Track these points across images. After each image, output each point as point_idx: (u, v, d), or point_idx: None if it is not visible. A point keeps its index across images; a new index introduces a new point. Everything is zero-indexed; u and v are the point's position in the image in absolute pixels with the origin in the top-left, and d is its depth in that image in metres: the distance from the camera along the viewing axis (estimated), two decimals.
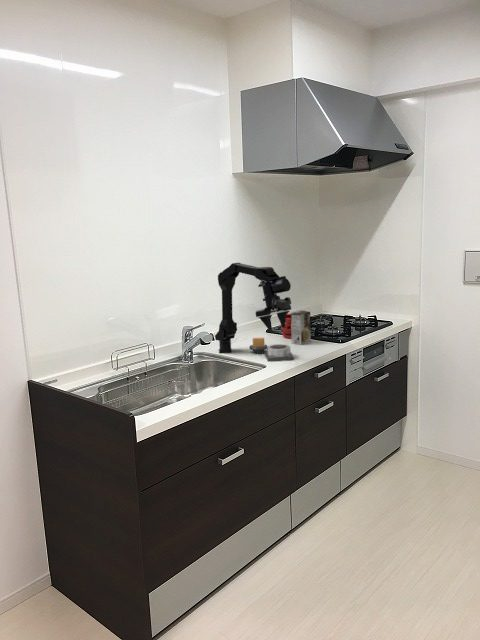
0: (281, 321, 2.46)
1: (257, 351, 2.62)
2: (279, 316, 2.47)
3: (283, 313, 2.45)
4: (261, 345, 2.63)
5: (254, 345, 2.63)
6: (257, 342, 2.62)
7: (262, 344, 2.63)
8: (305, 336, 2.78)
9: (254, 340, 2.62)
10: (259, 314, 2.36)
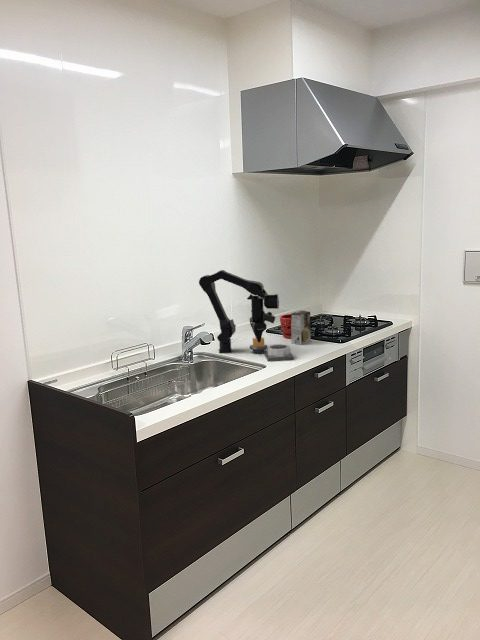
0: None
1: (257, 351, 2.62)
2: None
3: None
4: (261, 345, 2.63)
5: (254, 345, 2.63)
6: (257, 342, 2.62)
7: (262, 344, 2.63)
8: (305, 336, 2.78)
9: (254, 340, 2.62)
10: (259, 327, 2.53)
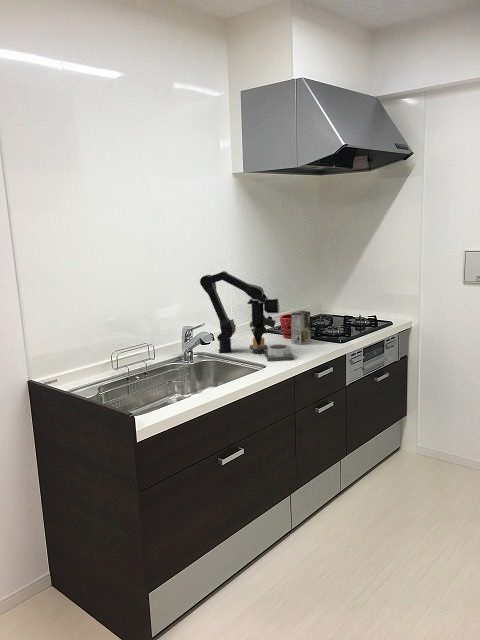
0: None
1: (257, 351, 2.62)
2: None
3: None
4: (261, 345, 2.63)
5: (254, 345, 2.63)
6: None
7: (262, 344, 2.63)
8: (305, 336, 2.78)
9: (254, 340, 2.62)
10: (259, 332, 2.53)
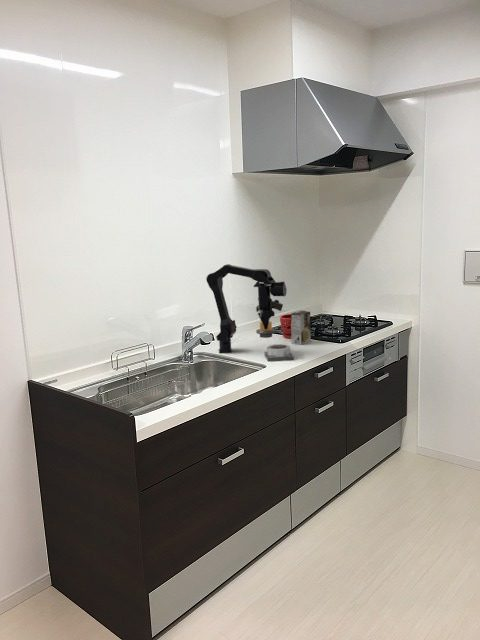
0: None
1: (264, 335, 2.56)
2: (261, 317, 2.59)
3: None
4: (268, 329, 2.58)
5: (261, 329, 2.57)
6: None
7: (269, 328, 2.57)
8: (305, 336, 2.78)
9: (261, 324, 2.57)
10: (267, 315, 2.48)
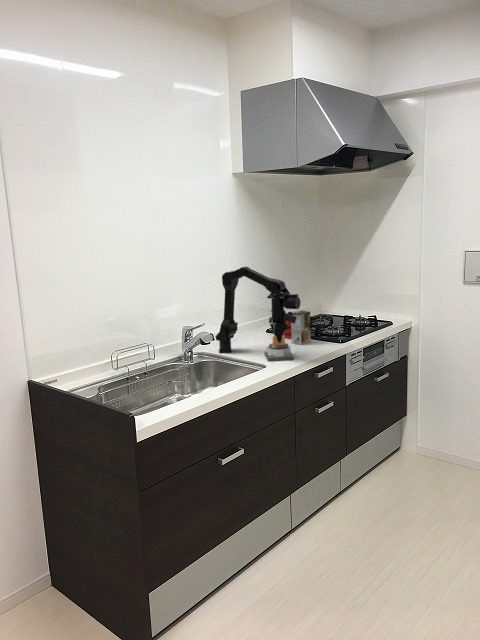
0: None
1: None
2: (273, 328, 2.55)
3: None
4: (281, 344, 2.51)
5: (274, 344, 2.51)
6: (277, 340, 2.51)
7: (282, 342, 2.51)
8: (305, 336, 2.78)
9: (274, 338, 2.51)
10: (280, 327, 2.41)
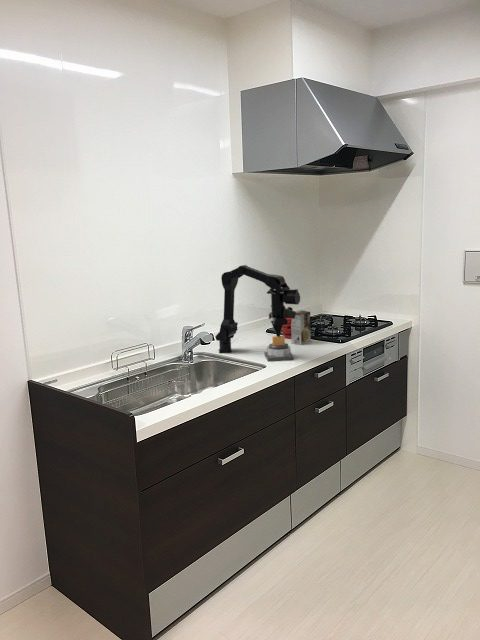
0: None
1: None
2: None
3: None
4: (281, 344, 2.51)
5: (274, 344, 2.51)
6: (277, 340, 2.51)
7: (282, 342, 2.51)
8: (305, 336, 2.78)
9: (274, 338, 2.51)
10: (280, 323, 2.41)
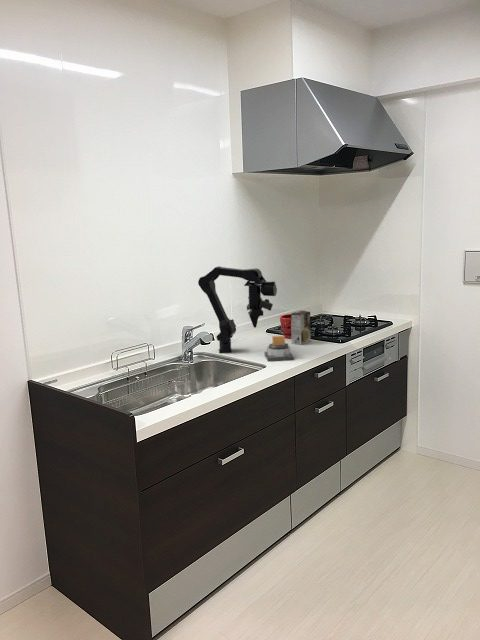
0: None
1: None
2: None
3: None
4: (281, 344, 2.51)
5: (274, 344, 2.51)
6: (277, 340, 2.51)
7: (282, 342, 2.51)
8: (305, 336, 2.78)
9: (274, 338, 2.51)
10: (256, 314, 2.50)
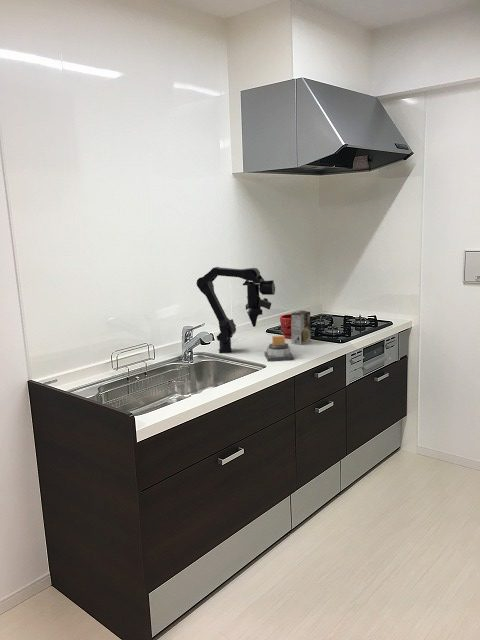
0: None
1: None
2: None
3: None
4: (281, 344, 2.51)
5: (274, 344, 2.51)
6: (277, 340, 2.51)
7: (282, 342, 2.51)
8: (305, 336, 2.78)
9: (274, 338, 2.51)
10: (255, 313, 2.50)
